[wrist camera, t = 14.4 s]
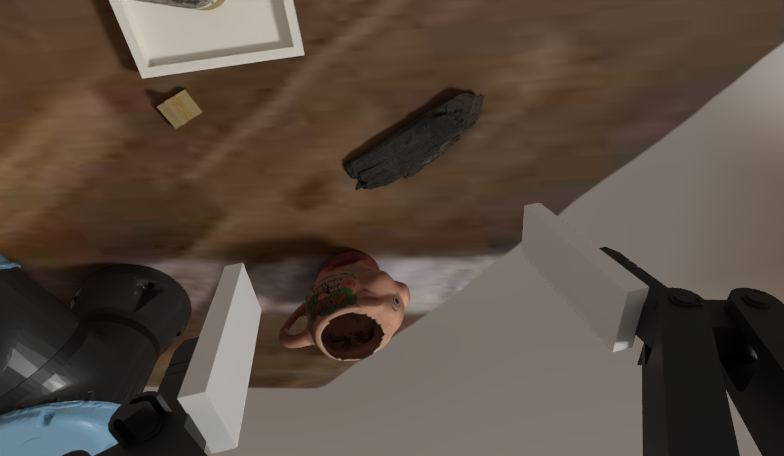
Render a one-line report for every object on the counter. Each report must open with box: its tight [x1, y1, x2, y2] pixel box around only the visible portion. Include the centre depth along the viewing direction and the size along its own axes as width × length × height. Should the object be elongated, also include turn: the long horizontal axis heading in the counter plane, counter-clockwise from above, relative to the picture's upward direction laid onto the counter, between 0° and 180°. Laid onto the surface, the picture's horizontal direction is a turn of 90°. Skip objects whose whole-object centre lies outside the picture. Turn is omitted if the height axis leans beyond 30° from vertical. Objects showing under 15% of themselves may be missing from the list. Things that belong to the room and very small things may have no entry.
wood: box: [344, 93, 485, 190], centre depth 52 cm, size 22×7×3 cm, turn 120°
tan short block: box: [157, 89, 204, 129], centre depth 44 cm, size 4×3×3 cm
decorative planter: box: [279, 251, 410, 361], centre depth 56 cm, size 20×12×14 cm, turn 111°
